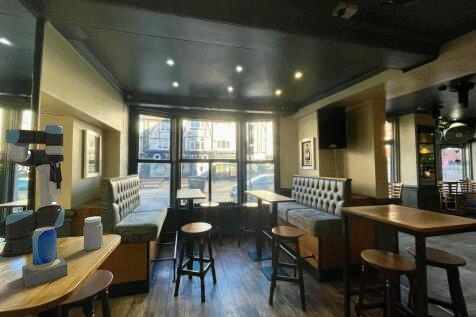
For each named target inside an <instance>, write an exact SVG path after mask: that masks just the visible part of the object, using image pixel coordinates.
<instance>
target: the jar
mask: <svg viewBox="0 0 476 317" xmlns="http://www.w3.org/2000/svg"><path fill="white" fill-rule="evenodd" d="M101 220H102V217H101V216H98V215H97V216H89V217H86V218H84V225H83V227H82V229H83V249H84V250H85V251H87V250H88V251H96V250H99V249H101V248H103V247H102V246H103V245H104V237H103V236H104V234H103V231H104V228H103V224H102V221H101ZM88 251H87V252H88Z"/></svg>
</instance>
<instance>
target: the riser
mask: <svg viewBox="0 0 476 317" xmlns="http://www.w3.org/2000/svg"><path fill="white" fill-rule="evenodd" d="M21 267H22V269H21V272H22V281H23V284H24V287H25V289H27V288H30V287H34V286H36V285H41V284H43V283H47V282H50V281H53V280H55V279H60V278H62V277H65V276H68V263H67V261H66V260H65V259H64V258H63V257H62V255H59V256H57V259H56V260H55V262H54V263H53V264H51V265H48V266H44V267H35V266H34V265H33V262H32V263H29V264H26V265H25V264H24V265H22V266H21Z"/></svg>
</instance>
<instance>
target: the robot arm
mask: <svg viewBox="0 0 476 317" xmlns="http://www.w3.org/2000/svg"><path fill="white" fill-rule="evenodd" d="M5 142H6V143H7V144H9V145H10V146H11V147H10V151H9V152H8V157H9V159H10V160H11V162H13V163H14V164H16V165H19V166H22V167H27V168H31V167H32V168H33V167H35V170H36V171H37V172H38V181H39V182H38V183H39V184H38V185H39V201H40V206H39V207H38V208H37V211H34V210H33V209H27V210H26V209H25V210H21V211H16V212H13V213H10V214H8V215H7V216H6V218H5V239H6V240H5V243H4V246H3V248H2V250H1V257H3V258H11V257H18V256H23V255H26V254H30V253H32V235H33V234H34V232H35V230H36V229H39V228H43V227H54V229H56V228H60V227H62V226H63V224H64V220H65V208H64V207H62V205H61V204H59V203H58V202H59V201H58V200H59V199H58V196H62V194H63V193H62V190H63V189H62V183H63V182H62V181H63V176H62V168H61V162H64V161H65V156H64V153H65V149H64V148H65V147H64V127H63V126H62V125H58V124H46V125H45V127H44V130H38V129H37V130H35V129H19V128H8V129H6V130H5ZM30 145H45V147H44V148H42V149H39V148H38V149H34V148H33V149H31V148H30V147H31V146H30Z"/></svg>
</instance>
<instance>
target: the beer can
mask: <svg viewBox="0 0 476 317" xmlns="http://www.w3.org/2000/svg"><path fill="white" fill-rule="evenodd" d="M55 229H56V228H54V227H43V228H39V229H36V230H35V231H34V232H33V235H32V252H31V253H32V255H31V256H32V263H33V265H34V266H35V267H44V266H48V265H51V264H53V263H54V262H55V260H56V259H57V257H58V250H57V249H58V247H57V244H58V243H57V231H56V230H55Z"/></svg>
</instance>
